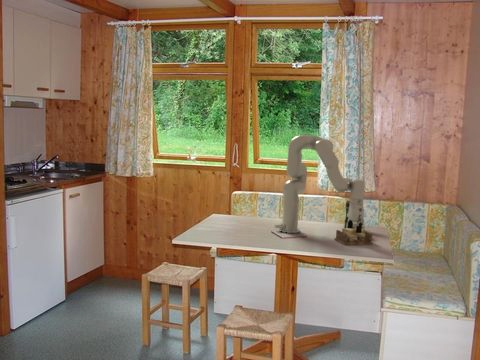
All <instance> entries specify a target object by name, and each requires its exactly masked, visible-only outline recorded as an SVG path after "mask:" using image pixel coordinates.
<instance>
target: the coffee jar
mask: <svg viewBox="0 0 480 360" xmlns="http://www.w3.org/2000/svg"><path fill="white" fill-rule="evenodd" d="M349 205H350V200H347V201H346V202H345V206H344V209H345V218H344V222H343V223H344V224H343V228H346V226H347V223H348V222H347V213H348V211H349Z"/></svg>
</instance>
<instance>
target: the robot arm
mask: <svg viewBox="0 0 480 360" xmlns="http://www.w3.org/2000/svg"><path fill="white" fill-rule="evenodd" d="M302 150H313V151H315V152H316V154H317V155H318V157H319V158H320V160H321V162H322V164H323V165H324V167H325V171H326V174H327V177H328V179H329V182H330V183H331V184H332V186H333V188H334V189H335V191H337V192H339V193H344V192H350V193H349V201H350V205H349V211H348V213H347V222H348V225H347V228H353V221H354V222H356V223H357V226H356V233H361V232H362V226H363V223H364V222H365V219H364V217H365V207H364V199H365V197H364V196H365V186H366V183H365V181H364V179H363V180H361V179H352V178H349V177H344V176H342V174H341V171H340V169H339V163H340V162H339V158H338V157H337V155H336V153H335V152H334V143H333V142H332V141H331V140H330V139H328V138H324V137H320V136H316V135H314V134H300V135H297V136H295V137H293V138H292V139H291V140H290V142H289V144H288V149H287V161H286V175H287V176H288V177H289V178H291V179H290V180H287V181H286V182H285V183H284V184H283V186H282V196H283V204H282V206H283V207H282V220H281V222H280V223H279V224H274V229H279V231H280V232H281V231H282V233H285V232H287V233H286V234H297V233H298V234H299V233H300V231H301V229H300V228H298V224H299V213H300V212H299V209H300V208H299V207H300V200H299V199H300V197H299V195H301V194H302V193H303V192H305V190H306V186H307V177H308V169H307V165H306V164H305V163H304V162H302V159H303V158H302V157H303V154H302V153H303V152H302ZM364 224H365V223H364Z"/></svg>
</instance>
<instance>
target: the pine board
mask: <svg viewBox="0 0 480 360" xmlns="http://www.w3.org/2000/svg"><path fill="white" fill-rule="evenodd" d="M341 229H342V230H341V232H343V233H346V234H347V238H348V237H365V231H366V229H365V230H364V229H362V232H361V233H356V228H344V227H343V228H341Z"/></svg>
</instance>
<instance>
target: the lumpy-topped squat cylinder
mask: <svg viewBox="0 0 480 360" xmlns="http://www.w3.org/2000/svg"><path fill="white" fill-rule="evenodd" d="M347 225H348V223H347ZM356 226H357V223H356V222H354V221H353V228H356ZM346 228H347V226H346ZM362 229H364V230H365V231H366V229H365V223H363V226H362ZM350 238H357V237H350Z"/></svg>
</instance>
